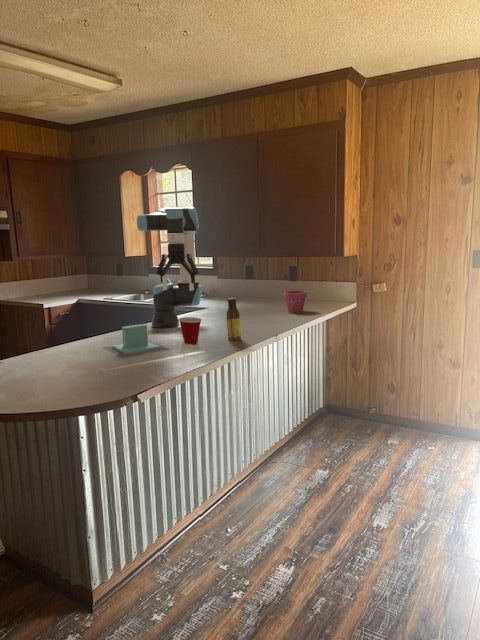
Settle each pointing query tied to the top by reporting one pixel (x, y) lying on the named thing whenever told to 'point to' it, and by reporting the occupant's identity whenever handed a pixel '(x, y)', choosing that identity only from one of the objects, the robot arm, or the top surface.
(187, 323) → the plastic cup
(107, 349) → the mat
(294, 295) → the plant pot
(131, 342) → the lid
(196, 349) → the top surface
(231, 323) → the sauce bottle
